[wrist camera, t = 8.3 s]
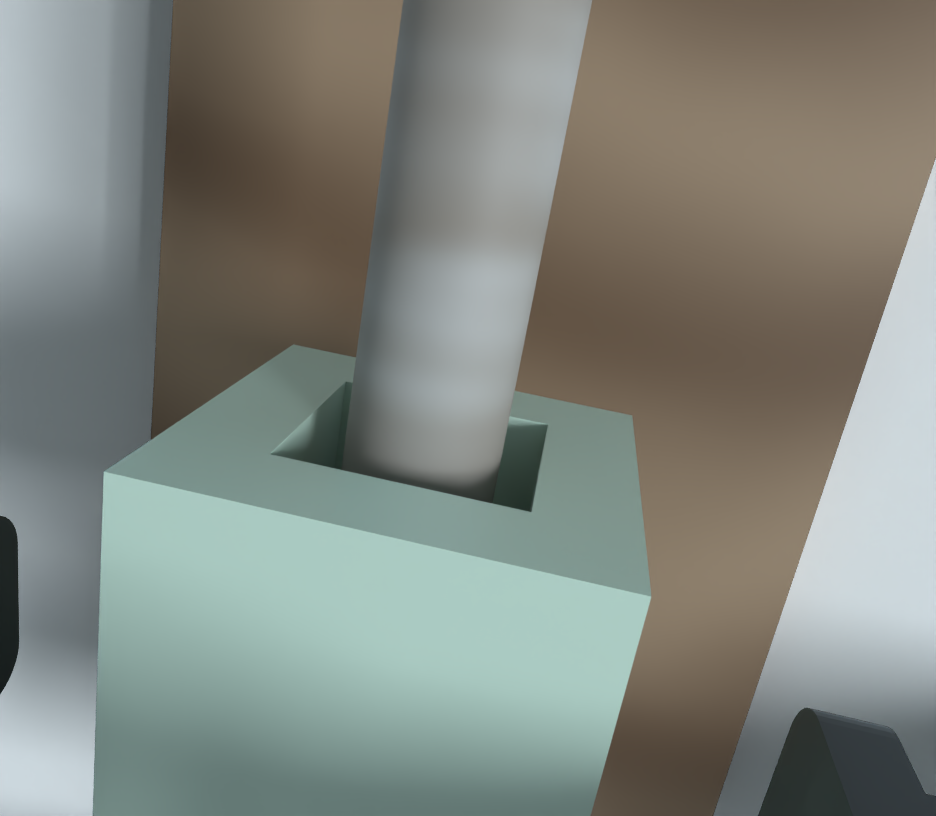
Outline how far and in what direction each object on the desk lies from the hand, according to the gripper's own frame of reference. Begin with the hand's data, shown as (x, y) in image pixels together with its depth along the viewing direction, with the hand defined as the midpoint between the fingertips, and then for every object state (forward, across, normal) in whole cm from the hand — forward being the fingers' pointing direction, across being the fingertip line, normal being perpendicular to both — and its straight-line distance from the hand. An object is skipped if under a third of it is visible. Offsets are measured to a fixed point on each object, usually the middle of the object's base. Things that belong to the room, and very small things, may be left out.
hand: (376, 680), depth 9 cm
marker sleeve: (+3, 0, 0) cm, 3 cm away
